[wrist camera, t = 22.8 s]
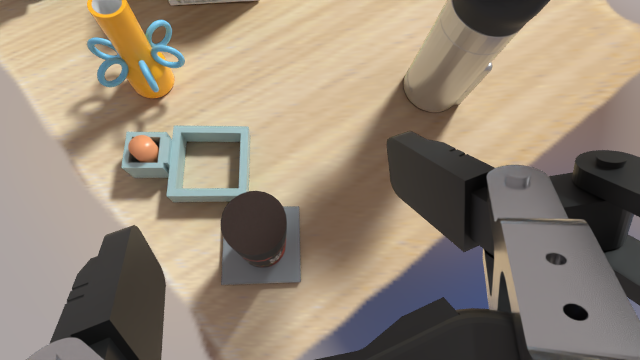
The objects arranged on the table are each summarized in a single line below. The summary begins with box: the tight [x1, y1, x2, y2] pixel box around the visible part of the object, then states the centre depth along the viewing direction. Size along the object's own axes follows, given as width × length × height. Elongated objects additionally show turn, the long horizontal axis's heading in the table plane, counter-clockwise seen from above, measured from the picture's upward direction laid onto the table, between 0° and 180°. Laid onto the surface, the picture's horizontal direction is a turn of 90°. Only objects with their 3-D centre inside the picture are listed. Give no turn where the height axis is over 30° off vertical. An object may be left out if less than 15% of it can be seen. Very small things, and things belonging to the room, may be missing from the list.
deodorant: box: [221, 191, 287, 268], centre depth 38 cm, size 6×6×15 cm
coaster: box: [221, 206, 301, 285], centre depth 46 cm, size 10×10×1 cm
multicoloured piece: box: [87, 0, 185, 98], centre depth 45 cm, size 12×10×15 cm
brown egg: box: [128, 135, 159, 163], centre depth 46 cm, size 3×3×4 cm
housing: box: [121, 126, 250, 202], centre depth 47 cm, size 16×10×4 cm, turn 92°
